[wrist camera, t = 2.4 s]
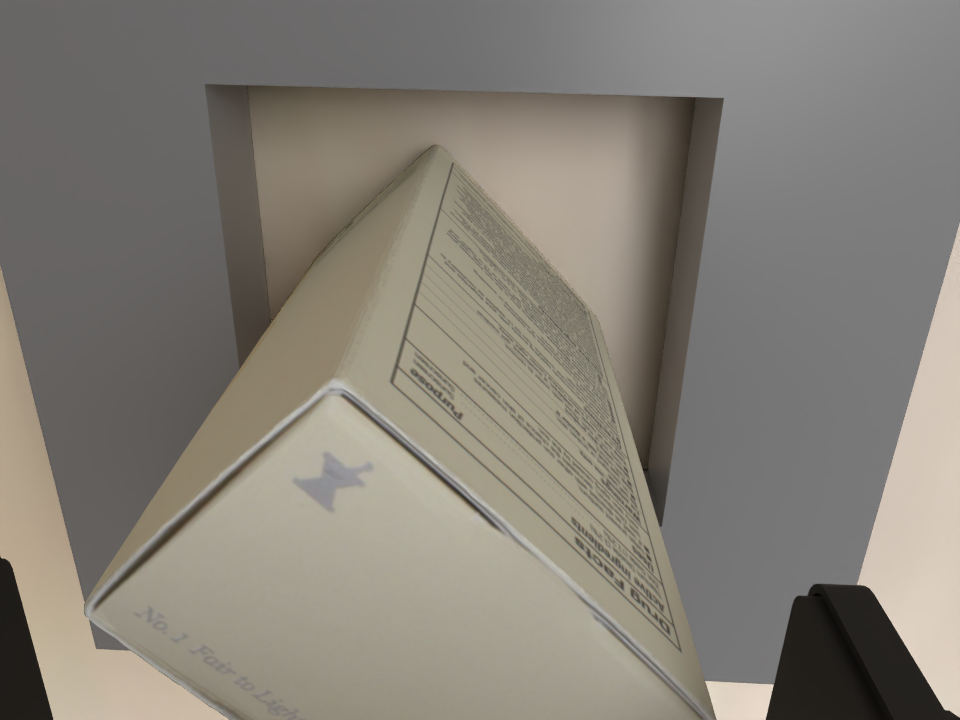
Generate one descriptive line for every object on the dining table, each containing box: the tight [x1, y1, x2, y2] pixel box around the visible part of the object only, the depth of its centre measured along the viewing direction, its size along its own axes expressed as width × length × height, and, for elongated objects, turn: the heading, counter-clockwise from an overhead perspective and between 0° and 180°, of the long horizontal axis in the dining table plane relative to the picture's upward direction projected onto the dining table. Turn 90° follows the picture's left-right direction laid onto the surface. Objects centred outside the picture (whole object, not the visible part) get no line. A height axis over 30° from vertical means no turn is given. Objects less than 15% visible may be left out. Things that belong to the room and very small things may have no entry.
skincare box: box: [84, 145, 716, 720], centre depth 14 cm, size 6×4×12 cm
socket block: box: [0, 0, 960, 684], centre depth 18 cm, size 20×20×2 cm
